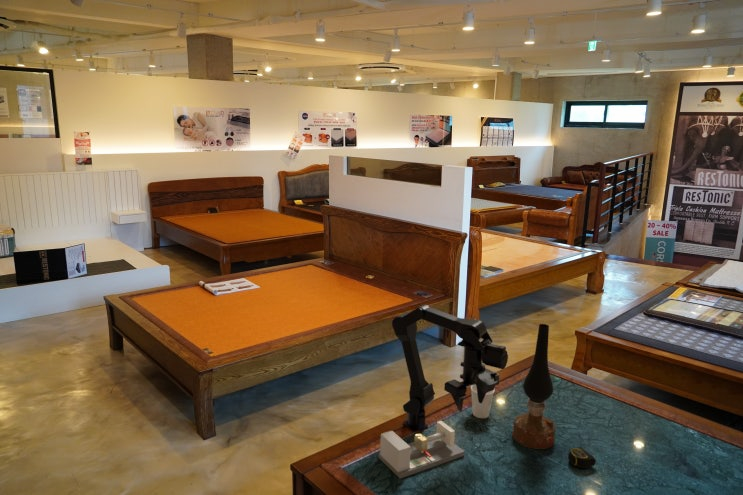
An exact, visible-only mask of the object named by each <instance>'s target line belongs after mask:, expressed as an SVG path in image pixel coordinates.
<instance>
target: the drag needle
mask: <svg viewBox="0 0 743 495" xmlns="http://www.w3.org/2000/svg"><path fill="white" fill-rule="evenodd" d="M425 437H426V436H425V435H424V434H422V433H416V434H414V441H413V442H414V447H415V448H417V449H418V450H419V451H420V452H421V453H423V452H424V453H425V454H426V455H427V456H428V457H431V455H430V454H429V453H427V452H426V451H427V444H428V439H427V438H425Z"/></svg>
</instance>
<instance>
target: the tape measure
mask: <svg viewBox="0 0 743 495" xmlns="http://www.w3.org/2000/svg"><path fill="white" fill-rule="evenodd" d="M567 460H568V461H569V463H570V464H571V465H573V466H575V467H577V468H581V469H588V468H590V467H593V466H595V465H596V463H597V460H596V458H595V457H594V456H593V455H591V454H590V453H589V452H587V450H585V449H584V448H583V447H581V446H579V447H574V448H571V449H570V450H569V451H568V454H567Z"/></svg>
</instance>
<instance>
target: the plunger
mask: <svg viewBox="0 0 743 495" xmlns="http://www.w3.org/2000/svg"><path fill="white" fill-rule="evenodd" d="M455 433H456V431H455V429H453V427H451V426H449V425H447V424H446V423H445V422H444V421H442V420H439V421H437V422H436V433H434V434H431V435H428V436H424V437H425V438H427V439H428V442H430V441H433V440H436V439H441V440H442V441H443V442H445V443H446V444H447V445H448V446H450V447H451V446H454V444H455V437H456V434H455Z"/></svg>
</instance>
